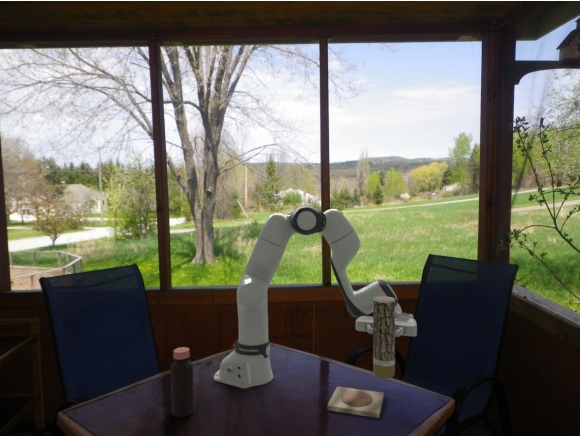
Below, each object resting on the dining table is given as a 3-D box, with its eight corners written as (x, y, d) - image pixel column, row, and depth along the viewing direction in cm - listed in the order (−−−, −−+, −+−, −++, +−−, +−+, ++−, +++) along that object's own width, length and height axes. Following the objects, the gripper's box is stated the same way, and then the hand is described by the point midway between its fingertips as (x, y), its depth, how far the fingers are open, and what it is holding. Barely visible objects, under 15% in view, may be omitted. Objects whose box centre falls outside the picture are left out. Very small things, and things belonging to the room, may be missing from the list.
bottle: (182, 420, 121) (180, 355, 120) (167, 414, 125) (165, 351, 124) (198, 410, 127) (197, 348, 126) (183, 405, 130) (182, 344, 130)
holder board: (327, 410, 126) (327, 404, 125) (337, 390, 139) (337, 385, 139) (379, 418, 120) (378, 412, 120) (384, 397, 133) (384, 391, 133)
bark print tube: (395, 380, 126) (395, 301, 125) (373, 378, 127) (373, 300, 126) (394, 371, 132) (394, 296, 132) (373, 369, 134) (373, 295, 133)
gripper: (358, 310, 145) (351, 320, 132) (417, 314, 138) (416, 326, 125) (358, 327, 145) (351, 339, 132) (417, 333, 138) (416, 346, 125)
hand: (383, 332), depth 128 cm, fingers closed on bark print tube, 7 cm apart
